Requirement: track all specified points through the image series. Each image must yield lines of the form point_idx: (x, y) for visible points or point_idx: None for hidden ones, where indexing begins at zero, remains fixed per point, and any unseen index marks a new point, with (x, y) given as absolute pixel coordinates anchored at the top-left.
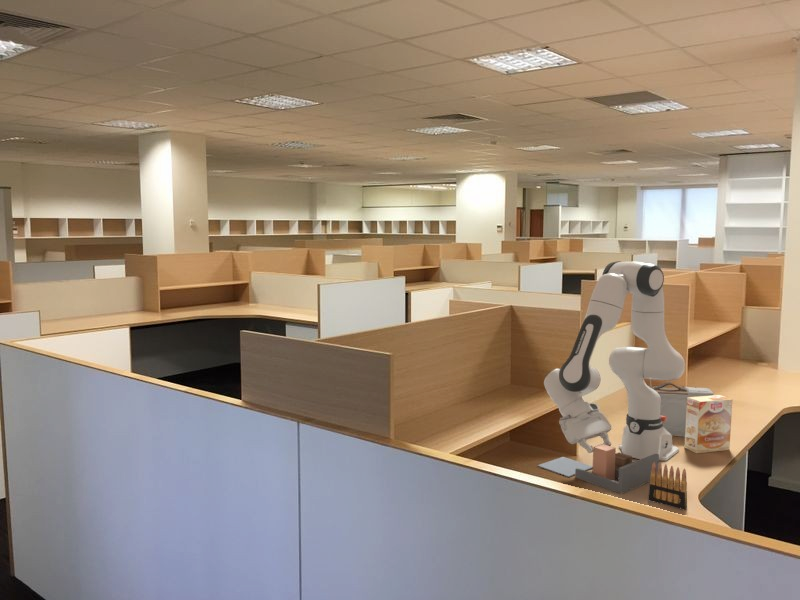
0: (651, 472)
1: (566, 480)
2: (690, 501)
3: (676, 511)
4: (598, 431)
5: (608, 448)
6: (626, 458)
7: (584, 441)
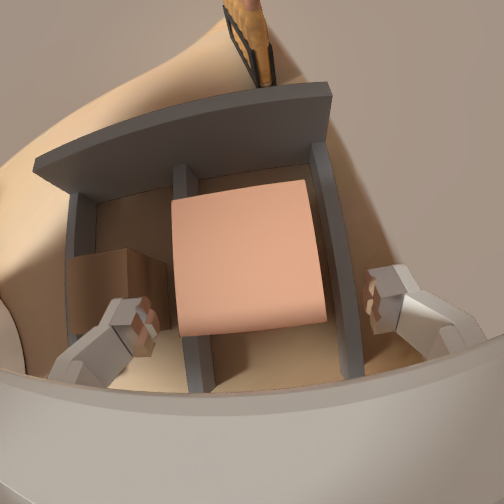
0: (261, 13)
1: (407, 363)
2: (185, 54)
3: (271, 33)
4: (145, 403)
5: (237, 216)
6: (105, 252)
7: (468, 323)
